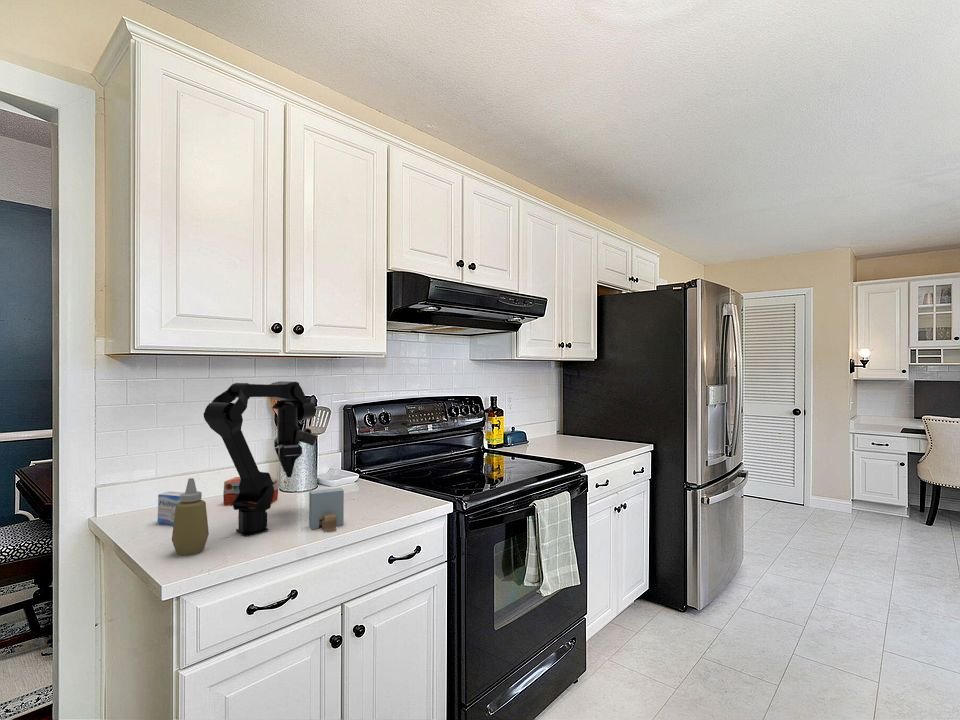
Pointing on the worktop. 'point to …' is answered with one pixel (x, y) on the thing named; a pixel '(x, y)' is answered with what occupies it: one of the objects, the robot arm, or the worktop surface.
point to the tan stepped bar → (328, 522)
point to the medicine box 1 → (167, 507)
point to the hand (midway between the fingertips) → (287, 474)
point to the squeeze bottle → (190, 522)
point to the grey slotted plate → (326, 505)
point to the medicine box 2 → (233, 490)
